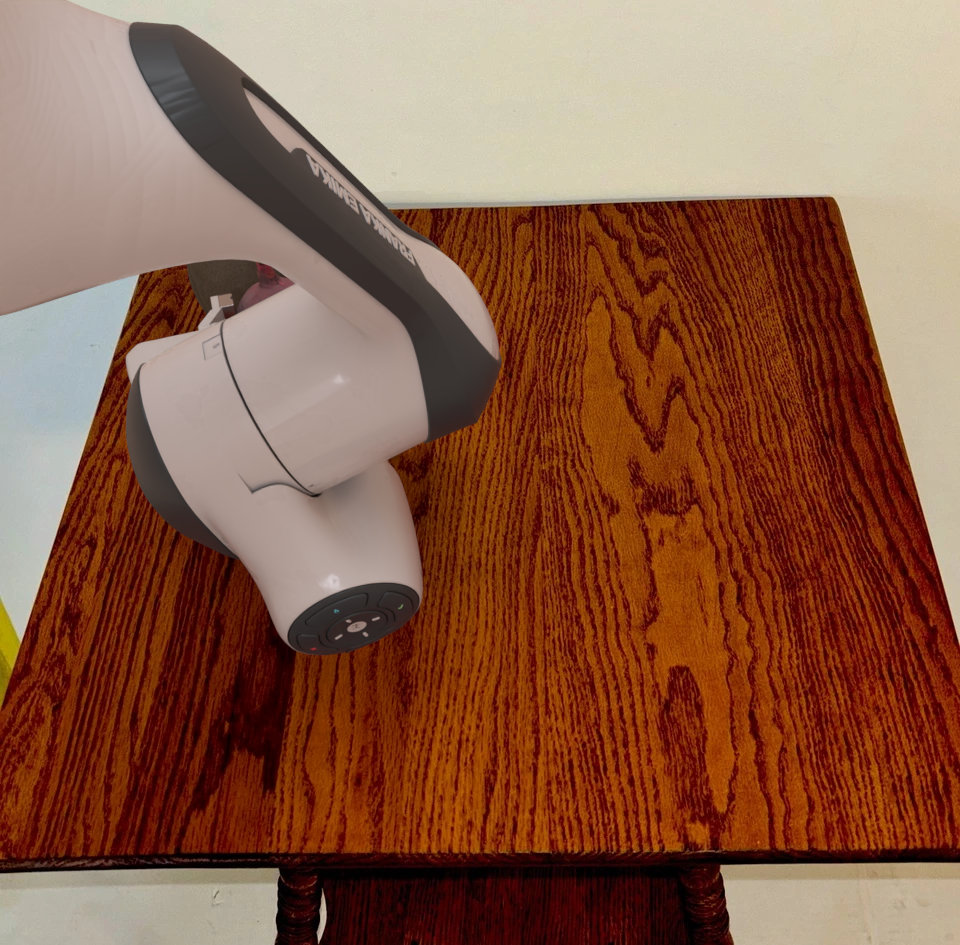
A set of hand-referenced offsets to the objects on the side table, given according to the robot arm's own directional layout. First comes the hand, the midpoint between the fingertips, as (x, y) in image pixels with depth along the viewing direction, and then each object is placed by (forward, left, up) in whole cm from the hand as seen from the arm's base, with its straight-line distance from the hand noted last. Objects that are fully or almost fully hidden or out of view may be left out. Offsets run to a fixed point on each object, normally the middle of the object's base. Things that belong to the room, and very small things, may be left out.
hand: (273, 291), depth 72 cm
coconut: (+1, +12, -13) cm, 18 cm away
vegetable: (0, -1, -6) cm, 6 cm away
